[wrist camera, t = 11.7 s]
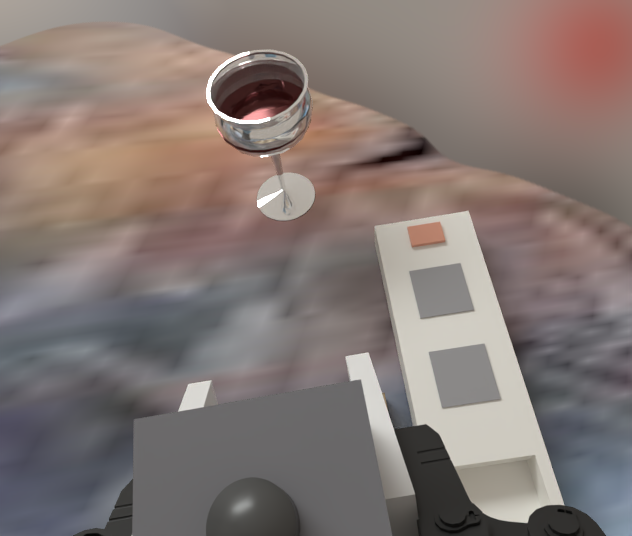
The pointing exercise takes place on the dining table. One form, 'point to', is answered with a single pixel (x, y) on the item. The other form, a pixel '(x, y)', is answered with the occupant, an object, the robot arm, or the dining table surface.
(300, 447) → the gray knobbed block
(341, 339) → the dining table surface
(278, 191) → the wineglass
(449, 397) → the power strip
